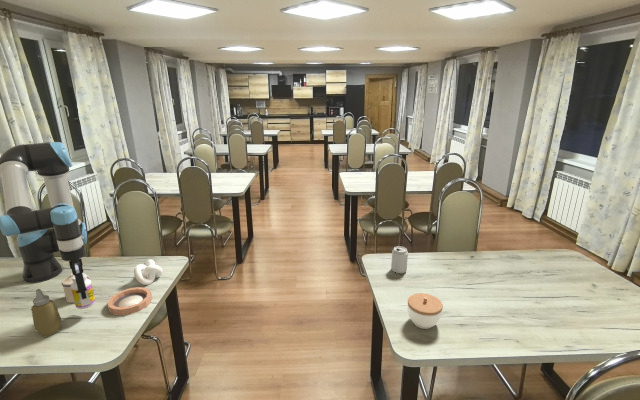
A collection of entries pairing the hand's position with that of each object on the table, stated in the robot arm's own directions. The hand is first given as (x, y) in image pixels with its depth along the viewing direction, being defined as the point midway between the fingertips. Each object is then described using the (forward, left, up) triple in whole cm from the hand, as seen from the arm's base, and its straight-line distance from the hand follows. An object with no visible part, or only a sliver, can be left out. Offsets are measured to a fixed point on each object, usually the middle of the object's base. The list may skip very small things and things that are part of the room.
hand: (85, 300), depth 136 cm
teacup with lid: (-19, -1, -7) cm, 20 cm away
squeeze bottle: (+2, -12, -7) cm, 15 cm away
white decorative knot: (-14, +25, -7) cm, 29 cm away
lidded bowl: (+85, +101, -7) cm, 132 cm away
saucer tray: (+1, +15, -7) cm, 17 cm away
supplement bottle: (0, 0, -2) cm, 2 cm away
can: (+53, +125, -7) cm, 136 cm away
